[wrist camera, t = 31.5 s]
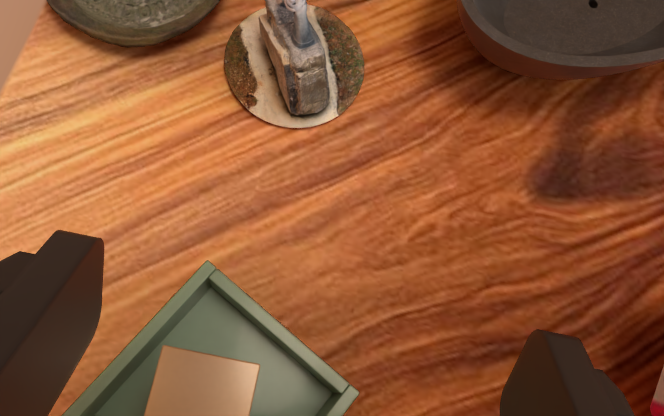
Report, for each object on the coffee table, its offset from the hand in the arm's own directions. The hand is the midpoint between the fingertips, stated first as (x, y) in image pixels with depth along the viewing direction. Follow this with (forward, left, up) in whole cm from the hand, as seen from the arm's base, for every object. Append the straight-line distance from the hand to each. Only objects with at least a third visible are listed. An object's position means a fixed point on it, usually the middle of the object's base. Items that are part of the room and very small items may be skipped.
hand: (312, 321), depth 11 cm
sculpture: (+10, -13, -20) cm, 26 cm away
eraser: (+1, +4, -20) cm, 20 cm away
